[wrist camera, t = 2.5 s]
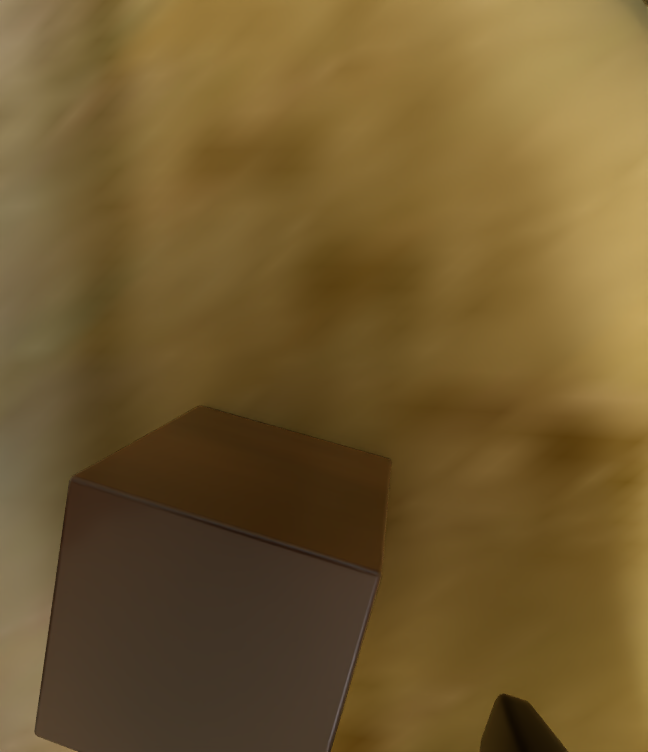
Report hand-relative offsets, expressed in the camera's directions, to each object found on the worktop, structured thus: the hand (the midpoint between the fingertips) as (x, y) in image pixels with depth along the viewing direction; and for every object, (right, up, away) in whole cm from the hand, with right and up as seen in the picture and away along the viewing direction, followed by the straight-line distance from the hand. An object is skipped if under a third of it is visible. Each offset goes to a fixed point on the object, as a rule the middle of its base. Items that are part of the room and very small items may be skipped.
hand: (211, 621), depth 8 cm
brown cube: (+1, +1, +3) cm, 4 cm away
